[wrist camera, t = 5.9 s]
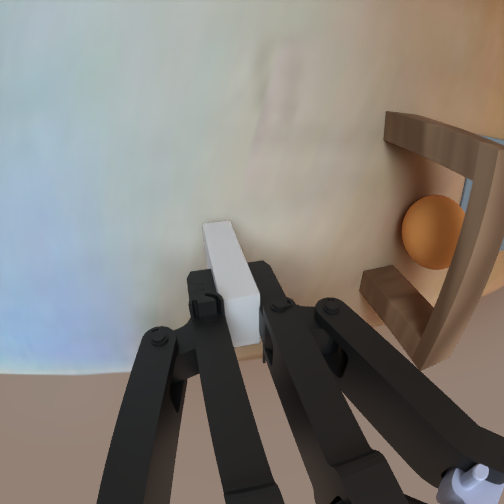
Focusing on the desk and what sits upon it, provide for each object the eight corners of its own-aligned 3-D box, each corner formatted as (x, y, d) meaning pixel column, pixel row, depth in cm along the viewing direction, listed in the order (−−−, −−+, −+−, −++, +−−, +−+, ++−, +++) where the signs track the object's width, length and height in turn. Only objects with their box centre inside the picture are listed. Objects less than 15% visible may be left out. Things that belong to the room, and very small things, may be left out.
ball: (381, 258, 23) (440, 294, 19) (395, 190, 20) (464, 222, 16) (416, 238, 25) (466, 267, 21) (429, 180, 22) (486, 205, 18)
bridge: (359, 290, 25) (420, 371, 18) (386, 111, 18) (498, 149, 10) (387, 284, 26) (449, 357, 18) (418, 115, 18) (524, 154, 11)
